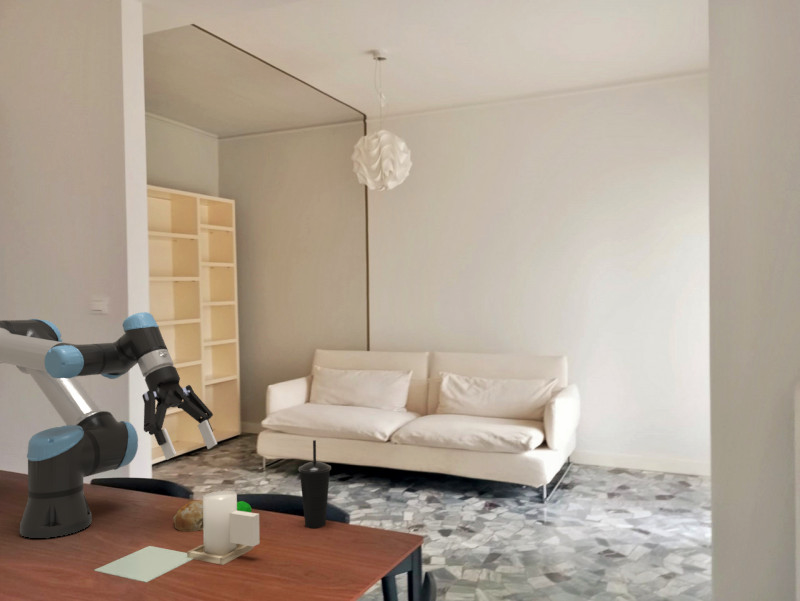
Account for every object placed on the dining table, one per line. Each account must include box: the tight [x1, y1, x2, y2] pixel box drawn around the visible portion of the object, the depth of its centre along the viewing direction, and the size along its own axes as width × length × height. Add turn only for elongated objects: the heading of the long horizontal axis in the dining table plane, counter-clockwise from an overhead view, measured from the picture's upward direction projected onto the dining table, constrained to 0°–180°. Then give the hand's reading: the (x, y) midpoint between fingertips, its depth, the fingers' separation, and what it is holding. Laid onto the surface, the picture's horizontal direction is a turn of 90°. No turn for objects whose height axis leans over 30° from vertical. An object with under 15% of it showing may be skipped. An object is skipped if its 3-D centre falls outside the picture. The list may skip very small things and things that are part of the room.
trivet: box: [93, 545, 195, 583], centre depth 130 cm, size 14×14×1 cm
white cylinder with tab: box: [202, 490, 261, 557], centre depth 133 cm, size 13×7×12 cm, turn 65°
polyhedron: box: [237, 500, 253, 513], centre depth 156 cm, size 5×5×5 cm
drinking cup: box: [298, 440, 332, 529], centre depth 153 cm, size 8×8×20 cm
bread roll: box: [172, 499, 203, 532], centre depth 153 cm, size 10×10×8 cm
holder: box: [186, 543, 254, 566], centre depth 135 cm, size 9×9×2 cm
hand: (192, 451), depth 151 cm, fingers open, 13 cm apart
